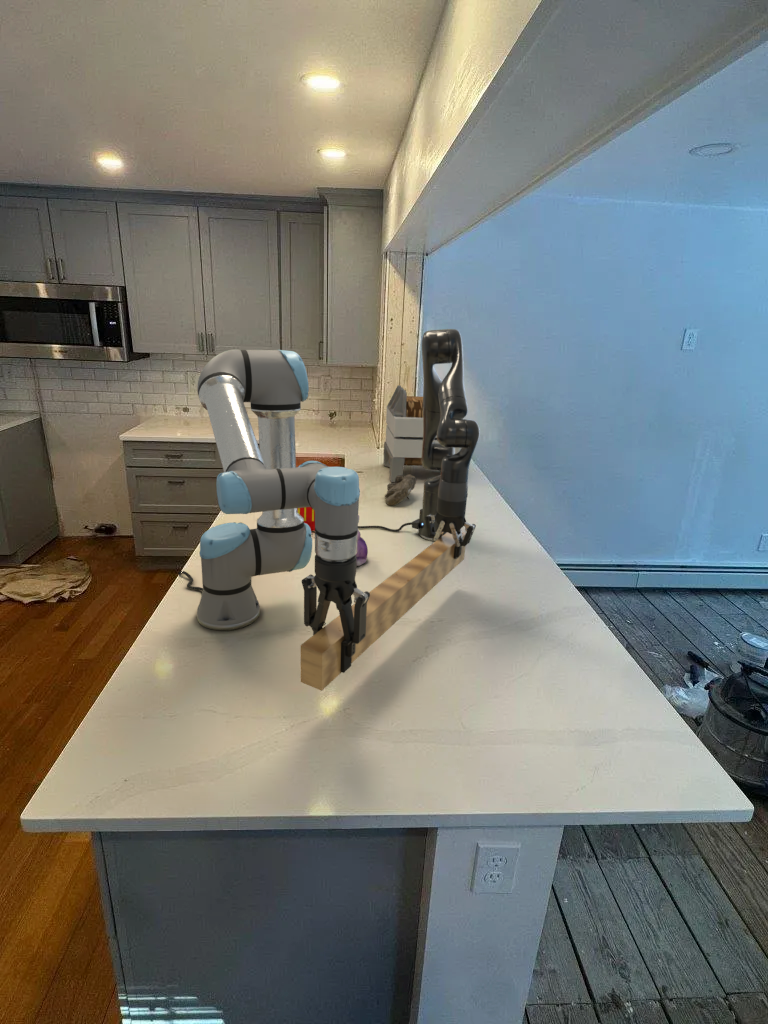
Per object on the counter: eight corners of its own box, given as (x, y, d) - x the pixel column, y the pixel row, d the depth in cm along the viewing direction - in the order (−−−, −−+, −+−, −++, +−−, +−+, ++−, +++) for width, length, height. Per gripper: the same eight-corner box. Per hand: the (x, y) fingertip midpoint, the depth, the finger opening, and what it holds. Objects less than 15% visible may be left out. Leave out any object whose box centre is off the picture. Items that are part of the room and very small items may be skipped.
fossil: (383, 480, 246) (411, 461, 241) (396, 497, 249) (424, 478, 244) (377, 501, 226) (408, 481, 221) (392, 519, 229) (422, 500, 224)
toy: (330, 481, 223) (325, 494, 194) (330, 514, 226) (324, 532, 196) (299, 480, 222) (289, 493, 193) (299, 513, 225) (289, 531, 196)
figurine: (346, 570, 170) (347, 523, 165) (333, 557, 178) (334, 512, 173) (374, 565, 174) (376, 519, 169) (360, 552, 183) (362, 509, 178)
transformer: (382, 463, 289) (386, 382, 275) (445, 464, 293) (451, 384, 279) (390, 482, 257) (394, 392, 243) (460, 483, 261) (468, 394, 247)
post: (448, 555, 161) (450, 529, 158) (464, 559, 159) (466, 533, 156) (300, 681, 104) (300, 645, 102) (321, 691, 102) (322, 653, 100)
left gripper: (282, 549, 102) (284, 659, 110) (368, 574, 94) (363, 690, 102) (307, 536, 108) (306, 640, 116) (389, 558, 100) (383, 669, 109)
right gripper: (421, 494, 147) (416, 554, 153) (473, 505, 141) (466, 567, 147) (433, 487, 153) (428, 544, 159) (483, 497, 147) (476, 557, 153)
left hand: (333, 663), depth 109 cm, fingers closed on post, 5 cm apart
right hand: (446, 555), depth 153 cm, fingers closed on post, 4 cm apart
